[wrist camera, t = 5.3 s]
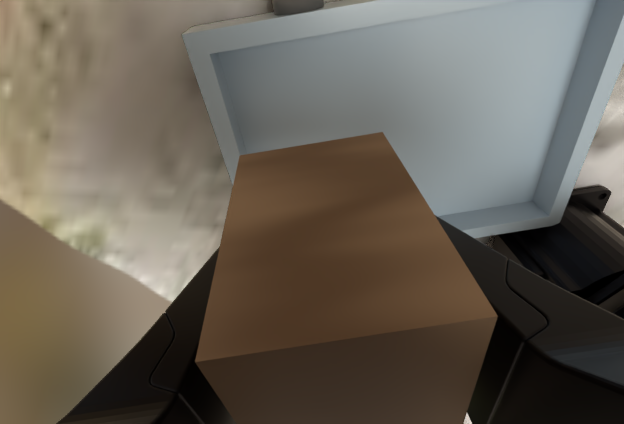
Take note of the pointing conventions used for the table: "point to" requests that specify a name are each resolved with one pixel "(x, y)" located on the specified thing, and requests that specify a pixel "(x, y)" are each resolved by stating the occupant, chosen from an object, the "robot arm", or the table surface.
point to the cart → (425, 93)
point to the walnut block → (340, 295)
